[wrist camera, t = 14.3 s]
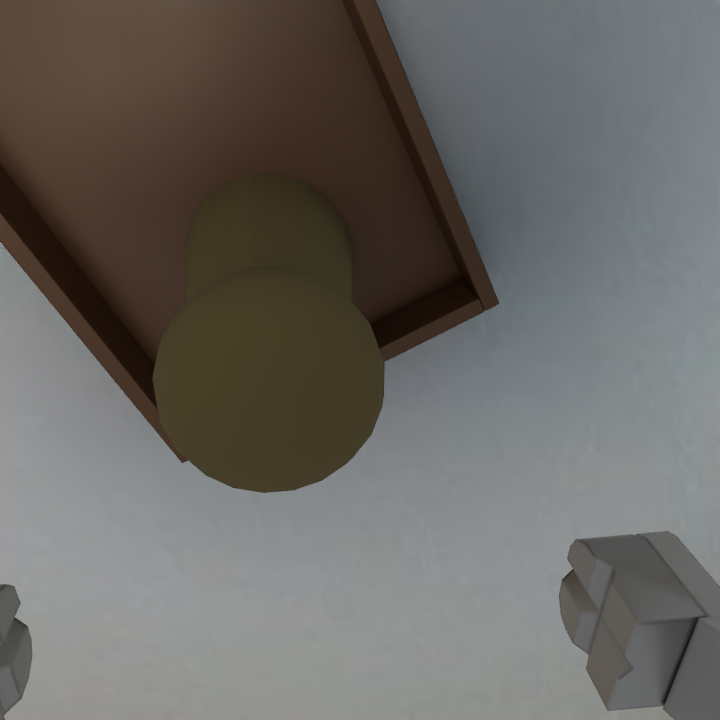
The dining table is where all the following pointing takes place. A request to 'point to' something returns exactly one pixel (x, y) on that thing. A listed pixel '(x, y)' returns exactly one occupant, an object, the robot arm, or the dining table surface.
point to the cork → (268, 341)
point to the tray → (216, 161)
